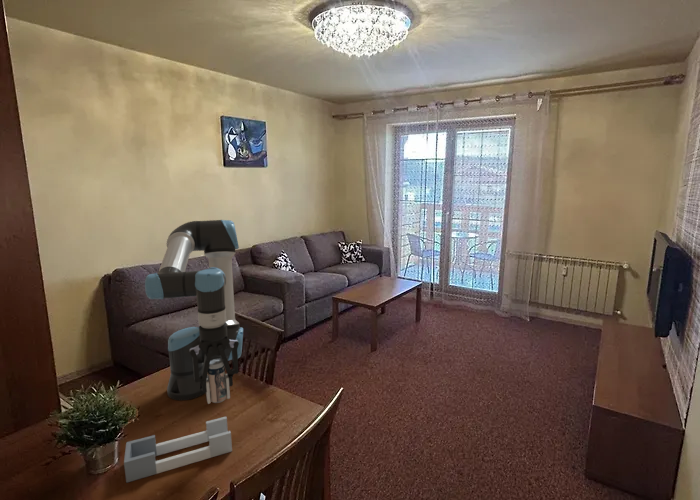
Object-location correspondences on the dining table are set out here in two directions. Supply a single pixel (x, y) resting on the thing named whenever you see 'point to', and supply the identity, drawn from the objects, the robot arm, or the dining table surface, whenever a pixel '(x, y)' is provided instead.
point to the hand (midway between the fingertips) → (218, 398)
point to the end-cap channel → (145, 449)
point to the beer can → (217, 381)
